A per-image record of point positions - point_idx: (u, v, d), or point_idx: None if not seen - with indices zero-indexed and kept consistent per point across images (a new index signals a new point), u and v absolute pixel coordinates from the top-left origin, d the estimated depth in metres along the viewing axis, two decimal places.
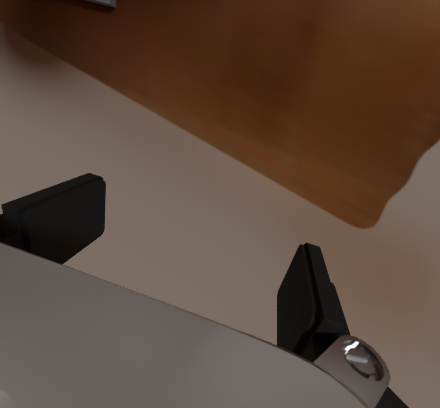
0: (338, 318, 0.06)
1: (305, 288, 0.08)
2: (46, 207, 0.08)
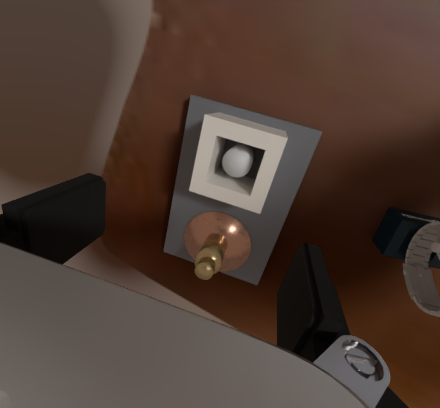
0: (338, 319, 0.06)
1: (305, 288, 0.08)
2: (46, 207, 0.08)
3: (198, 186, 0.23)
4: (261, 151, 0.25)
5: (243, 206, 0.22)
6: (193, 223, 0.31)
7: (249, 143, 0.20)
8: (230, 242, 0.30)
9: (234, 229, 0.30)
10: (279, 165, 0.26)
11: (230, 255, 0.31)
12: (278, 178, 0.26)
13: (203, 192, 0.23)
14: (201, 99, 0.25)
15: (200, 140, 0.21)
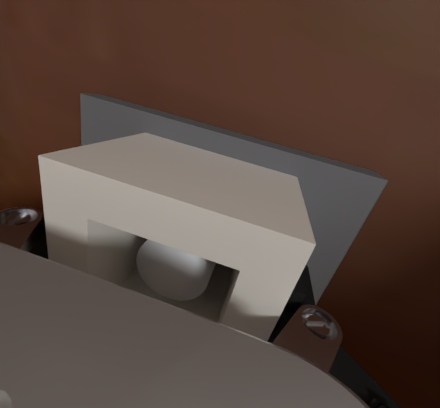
0: (302, 290, 0.07)
1: None
2: None
3: None
4: None
5: None
6: None
7: (187, 248, 0.06)
8: None
9: None
10: None
11: None
12: None
13: None
14: (104, 104, 0.11)
15: (48, 228, 0.07)
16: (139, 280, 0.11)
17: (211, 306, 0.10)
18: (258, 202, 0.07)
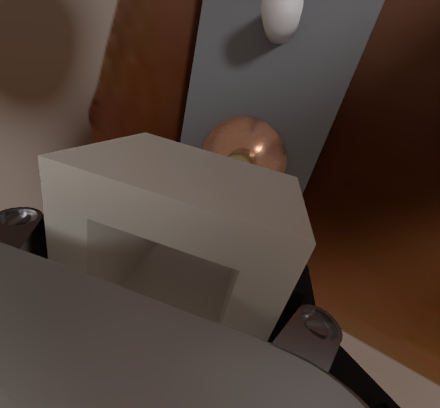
0: (301, 290, 0.07)
1: None
2: None
3: None
4: (307, 15, 0.19)
5: None
6: (212, 136, 0.24)
7: (187, 248, 0.06)
8: (259, 159, 0.24)
9: (266, 139, 0.23)
10: (331, 34, 0.19)
11: None
12: (328, 55, 0.20)
13: None
14: None
15: (48, 228, 0.07)
16: (139, 280, 0.11)
17: (211, 306, 0.10)
18: (258, 202, 0.07)
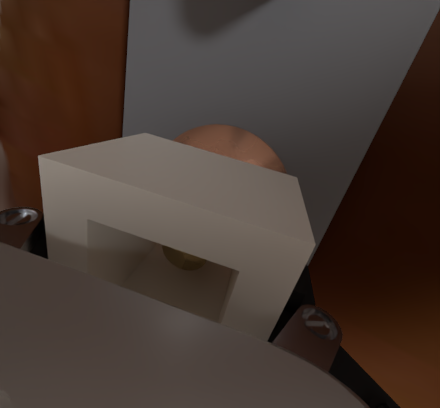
0: (302, 290, 0.07)
1: None
2: None
3: None
4: None
5: None
6: None
7: (187, 248, 0.06)
8: None
9: (256, 163, 0.14)
10: None
11: None
12: (373, 11, 0.10)
13: None
14: None
15: (48, 228, 0.07)
16: (139, 280, 0.11)
17: (211, 306, 0.10)
18: (258, 202, 0.07)
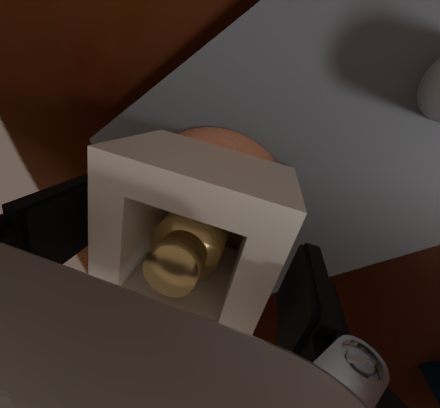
0: (338, 318, 0.06)
1: (305, 288, 0.08)
2: (46, 207, 0.08)
3: None
4: None
5: None
6: (202, 137, 0.12)
7: (205, 219, 0.08)
8: None
9: None
10: None
11: None
12: None
13: None
14: None
15: (90, 206, 0.09)
16: None
17: (220, 280, 0.12)
18: (261, 184, 0.08)
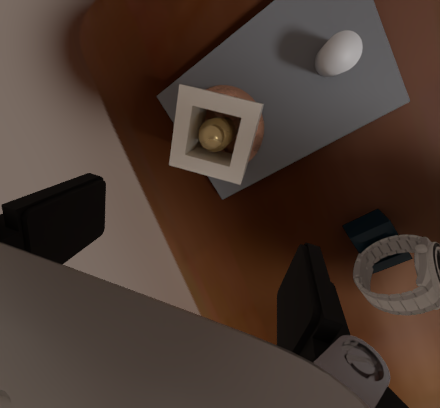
0: (338, 318, 0.06)
1: (305, 288, 0.08)
2: (46, 207, 0.08)
3: (178, 160, 0.23)
4: (349, 73, 0.22)
5: (223, 178, 0.22)
6: (218, 90, 0.25)
7: (225, 111, 0.20)
8: None
9: None
10: (349, 101, 0.23)
11: None
12: (336, 112, 0.23)
13: (183, 166, 0.23)
14: None
15: (176, 111, 0.21)
16: (197, 151, 0.25)
17: (229, 159, 0.24)
18: (246, 100, 0.21)
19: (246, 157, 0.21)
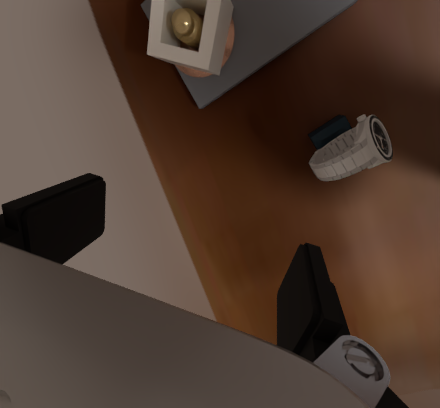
0: (338, 318, 0.06)
1: (305, 288, 0.08)
2: (46, 207, 0.08)
3: (154, 48, 0.26)
4: None
5: (193, 64, 0.26)
6: None
7: None
8: None
9: None
10: (307, 0, 0.26)
11: None
12: (296, 12, 0.26)
13: (159, 54, 0.26)
14: None
15: None
16: None
17: None
18: None
19: (212, 41, 0.24)
